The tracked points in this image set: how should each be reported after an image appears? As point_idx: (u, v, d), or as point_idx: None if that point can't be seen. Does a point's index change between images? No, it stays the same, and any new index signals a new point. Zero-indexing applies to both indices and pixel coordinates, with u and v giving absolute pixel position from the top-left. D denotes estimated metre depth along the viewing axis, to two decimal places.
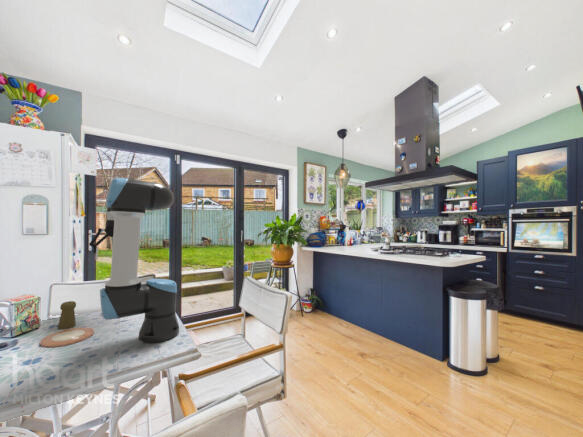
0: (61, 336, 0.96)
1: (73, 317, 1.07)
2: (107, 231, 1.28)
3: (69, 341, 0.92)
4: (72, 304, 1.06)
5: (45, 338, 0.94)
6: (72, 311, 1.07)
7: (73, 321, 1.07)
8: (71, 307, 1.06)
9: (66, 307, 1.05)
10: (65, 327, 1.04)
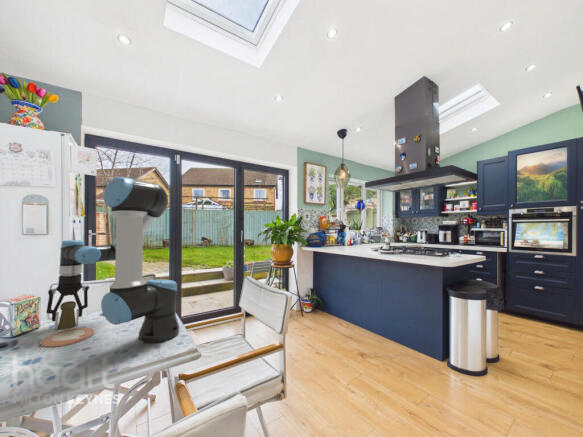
0: (61, 336, 0.96)
1: (73, 317, 1.07)
2: (60, 289, 1.05)
3: (69, 341, 0.92)
4: (72, 304, 1.06)
5: (45, 338, 0.94)
6: (72, 311, 1.07)
7: (73, 321, 1.07)
8: (71, 307, 1.06)
9: (66, 307, 1.05)
10: (65, 327, 1.04)
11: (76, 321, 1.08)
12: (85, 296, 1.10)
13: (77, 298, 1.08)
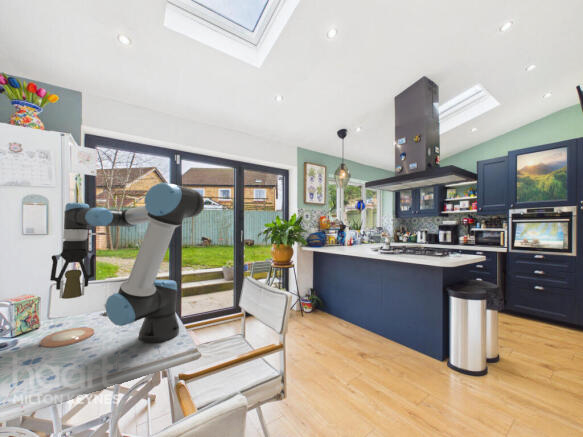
0: (61, 336, 0.96)
1: (79, 286, 0.99)
2: (65, 255, 0.97)
3: (69, 341, 0.92)
4: (77, 272, 0.98)
5: (45, 338, 0.94)
6: (77, 279, 0.99)
7: (79, 290, 0.99)
8: (76, 275, 0.98)
9: (71, 274, 0.97)
10: (70, 296, 0.96)
11: (82, 291, 1.00)
12: (91, 264, 1.02)
13: (83, 266, 1.00)
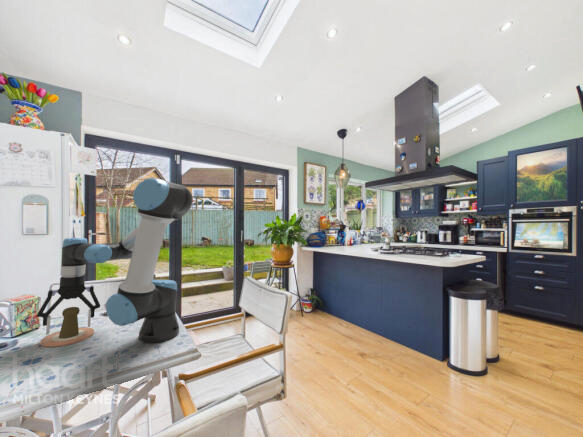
0: None
1: (76, 324, 0.97)
2: (61, 292, 0.95)
3: (69, 341, 0.92)
4: (75, 310, 0.97)
5: (45, 338, 0.94)
6: (75, 318, 0.97)
7: (76, 329, 0.97)
8: (74, 313, 0.96)
9: (69, 313, 0.95)
10: (67, 336, 0.94)
11: (88, 322, 1.00)
12: (93, 296, 1.01)
13: (84, 299, 0.99)
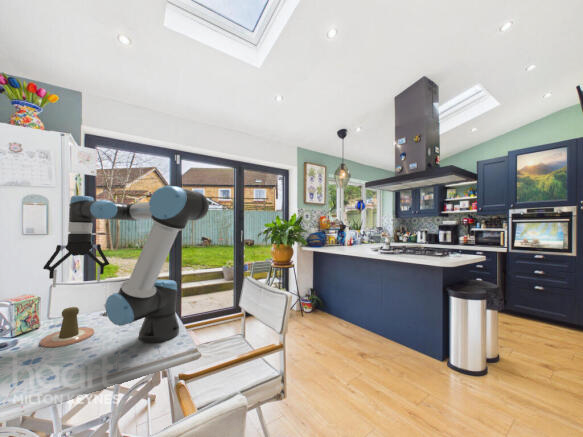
0: None
1: (76, 325, 0.97)
2: (69, 248, 0.96)
3: (69, 341, 0.92)
4: (74, 310, 0.97)
5: (45, 338, 0.94)
6: (74, 318, 0.97)
7: (76, 329, 0.97)
8: (73, 314, 0.96)
9: (68, 313, 0.95)
10: (67, 336, 0.94)
11: (98, 278, 1.02)
12: (101, 254, 1.03)
13: (93, 256, 1.01)
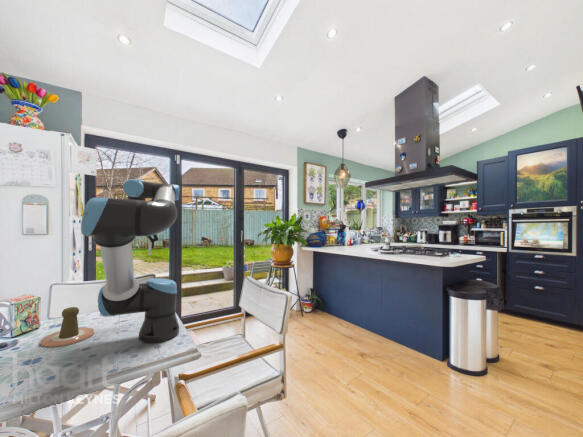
0: None
1: (76, 325, 0.97)
2: None
3: (69, 341, 0.92)
4: (74, 310, 0.96)
5: (45, 338, 0.94)
6: (75, 318, 0.97)
7: (76, 329, 0.97)
8: (73, 314, 0.96)
9: (68, 313, 0.95)
10: (67, 336, 0.94)
11: (149, 251, 1.18)
12: None
13: None
